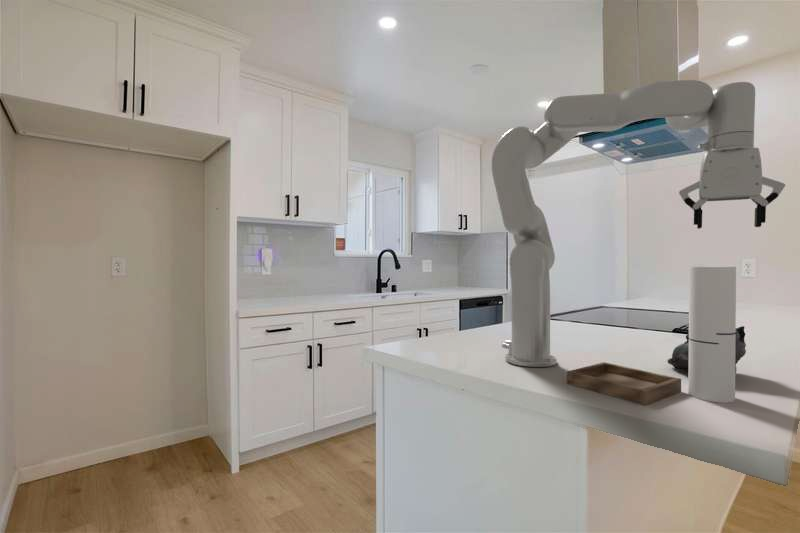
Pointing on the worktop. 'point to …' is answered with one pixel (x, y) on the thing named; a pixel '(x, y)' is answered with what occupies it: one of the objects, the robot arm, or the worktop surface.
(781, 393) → the worktop surface
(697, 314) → the cylindrical container
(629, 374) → the walnut tray
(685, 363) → the dark grey lumpy shape
